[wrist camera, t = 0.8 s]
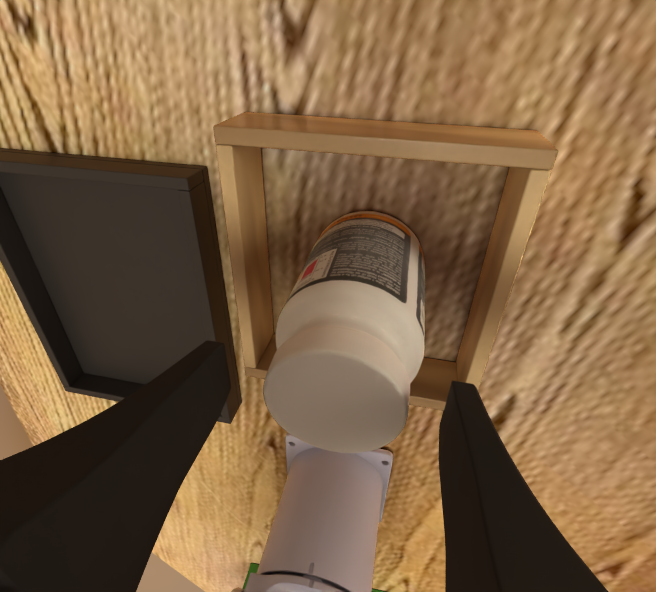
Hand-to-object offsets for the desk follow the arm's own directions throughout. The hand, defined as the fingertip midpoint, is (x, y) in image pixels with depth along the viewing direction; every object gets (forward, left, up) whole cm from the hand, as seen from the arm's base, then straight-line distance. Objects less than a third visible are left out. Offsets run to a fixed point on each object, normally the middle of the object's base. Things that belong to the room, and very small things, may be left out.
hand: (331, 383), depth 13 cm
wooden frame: (-1, 0, -9) cm, 9 cm away
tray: (-5, +15, -9) cm, 18 cm away
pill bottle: (-1, 0, -10) cm, 10 cm away
